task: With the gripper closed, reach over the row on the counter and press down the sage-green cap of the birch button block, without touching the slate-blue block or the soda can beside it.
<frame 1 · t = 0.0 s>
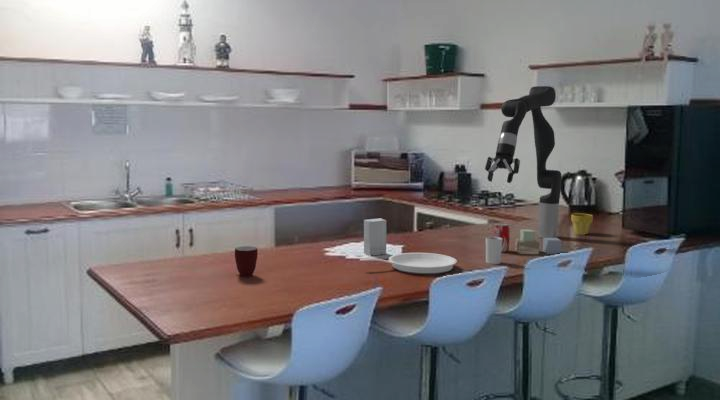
hand: (499, 181, 276), 31 cm above the worktop, tool tilted 20°, fingers open, 8 cm apart
green cap: (527, 236, 287), point 7 cm above the worktop, slide at 0.0 cm
button housing: (526, 252, 288), on the worktop
pan: (407, 269, 254), on the worktop
soda can: (500, 251, 289), on the worktop
plant pot: (581, 234, 336), on the worktop
drinking glass: (493, 263, 266), on the worktop
slate block: (551, 252, 288), on the worktop
skincare box: (374, 254, 279), on the worktop
mug: (244, 275, 239), on the worktop
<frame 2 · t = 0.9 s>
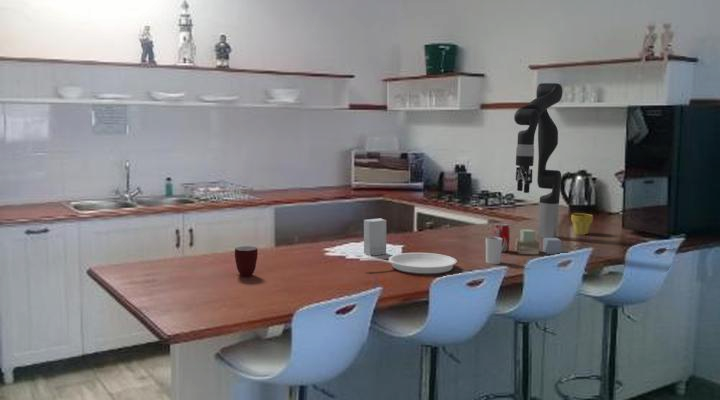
hand: (523, 191, 289), 26 cm above the worktop, tool pointing down, fingers open, 8 cm apart
nothing on the worktop moved.
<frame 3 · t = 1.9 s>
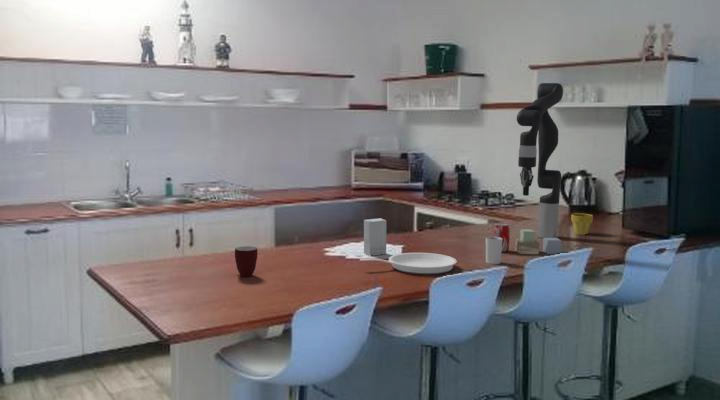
hand: (525, 195, 290), 24 cm above the worktop, tool pointing down, fingers closed
nothing on the worktop moved.
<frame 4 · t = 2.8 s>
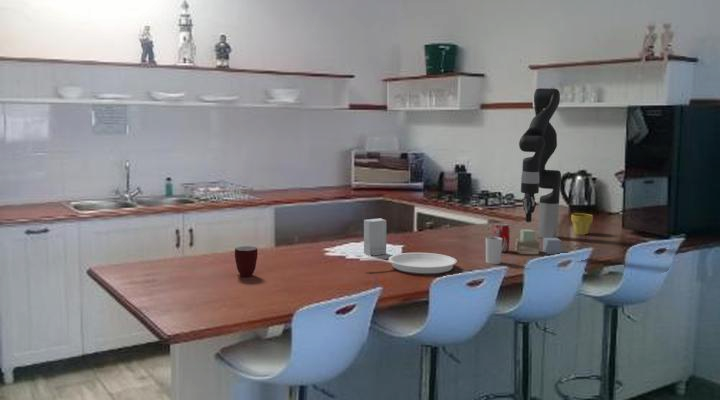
hand: (528, 221, 286), 13 cm above the worktop, tool pointing down, fingers closed
nothing on the worktop moved.
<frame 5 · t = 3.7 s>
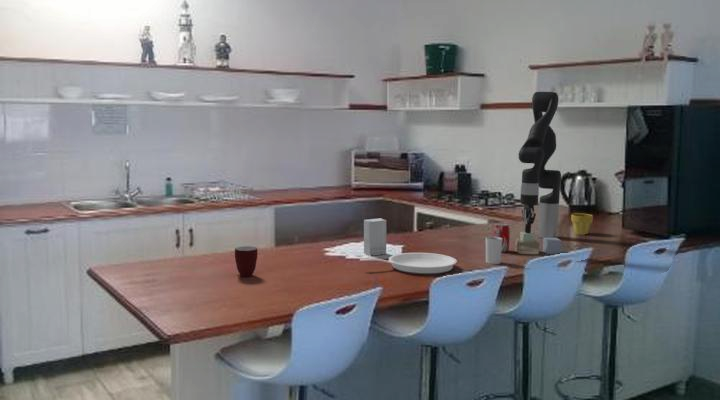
hand: (527, 232, 287), 9 cm above the worktop, tool pointing down, fingers closed
green cap: (527, 238, 287), point 6 cm above the worktop, slide at 1.0 cm, touching gripper
everything else where it was.
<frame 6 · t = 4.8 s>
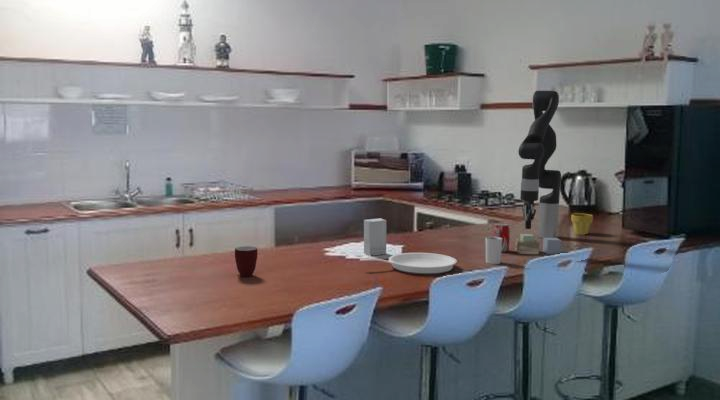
hand: (527, 228, 287), 10 cm above the worktop, tool pointing down, fingers closed
green cap: (527, 240, 287), point 5 cm above the worktop, slide at 2.0 cm
everything else where it was.
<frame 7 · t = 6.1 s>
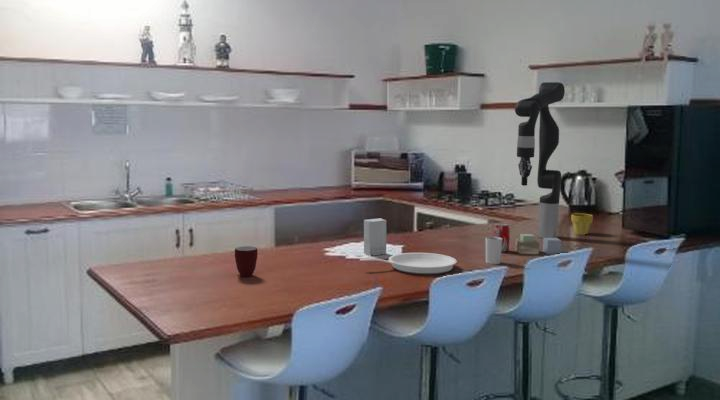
hand: (524, 185, 293), 28 cm above the worktop, tool pointing down, fingers closed
nothing on the worktop moved.
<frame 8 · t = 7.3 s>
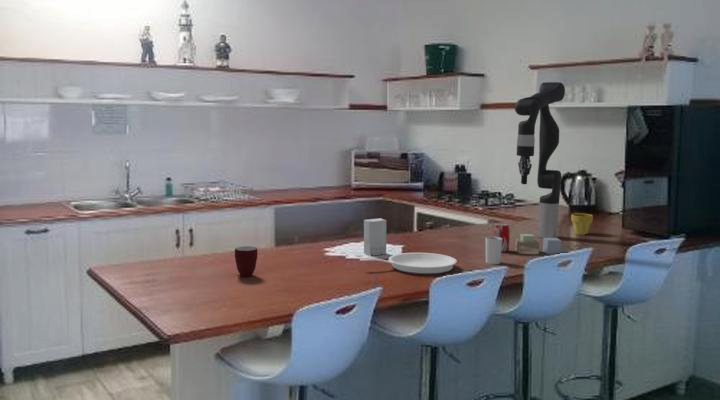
hand: (523, 184, 293), 29 cm above the worktop, tool pointing down, fingers closed
nothing on the worktop moved.
at the end: green cap slide at 2.0 cm; slate block moved 0.1 cm from its start; soda can moved 0.2 cm from its start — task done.
